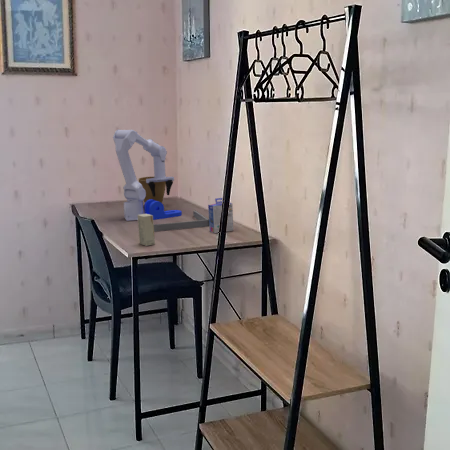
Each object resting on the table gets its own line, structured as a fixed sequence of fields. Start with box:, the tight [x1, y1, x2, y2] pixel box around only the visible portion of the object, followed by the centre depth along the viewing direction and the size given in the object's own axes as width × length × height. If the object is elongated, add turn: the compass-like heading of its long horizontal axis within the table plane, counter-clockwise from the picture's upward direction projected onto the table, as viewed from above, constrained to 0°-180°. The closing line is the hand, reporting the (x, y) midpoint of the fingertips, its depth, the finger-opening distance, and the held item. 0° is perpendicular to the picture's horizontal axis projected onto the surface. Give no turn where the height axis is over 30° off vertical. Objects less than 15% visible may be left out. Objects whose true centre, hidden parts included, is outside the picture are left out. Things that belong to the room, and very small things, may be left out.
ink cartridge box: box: [207, 197, 234, 234], centre depth 275 cm, size 10×6×14 cm, turn 118°
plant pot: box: [137, 176, 166, 204], centre depth 337 cm, size 15×15×16 cm
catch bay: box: [154, 209, 210, 233], centre depth 295 cm, size 28×25×3 cm
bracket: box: [143, 199, 183, 221], centre depth 313 cm, size 18×8×9 cm, turn 121°
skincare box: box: [137, 214, 156, 247], centre depth 256 cm, size 6×4×12 cm
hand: (161, 195), depth 324 cm, fingers open, 7 cm apart
